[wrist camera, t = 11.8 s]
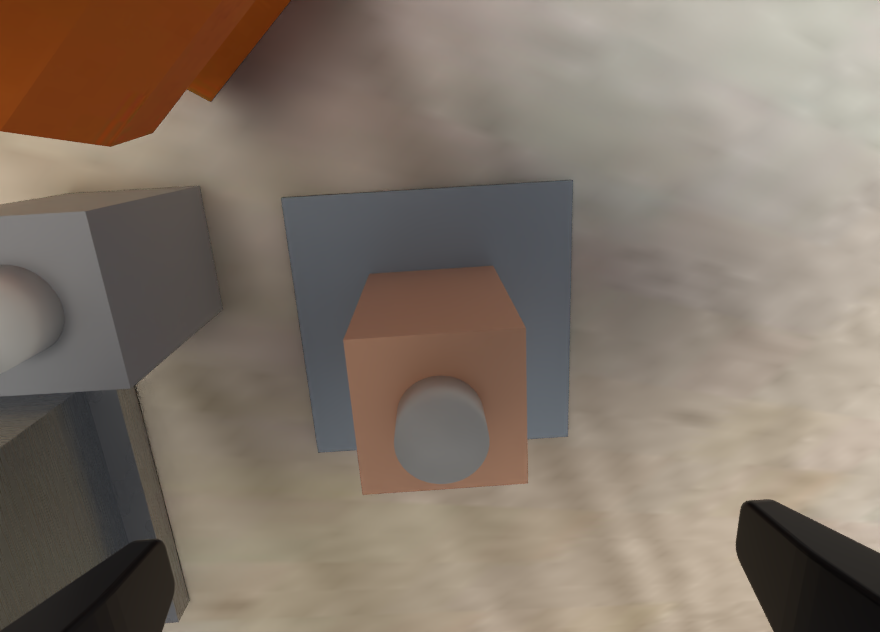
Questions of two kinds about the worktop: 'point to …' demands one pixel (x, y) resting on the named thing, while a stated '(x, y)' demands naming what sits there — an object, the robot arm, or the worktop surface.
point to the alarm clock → (117, 61)
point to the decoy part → (101, 287)
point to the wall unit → (74, 493)
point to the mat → (427, 248)
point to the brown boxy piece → (437, 381)
